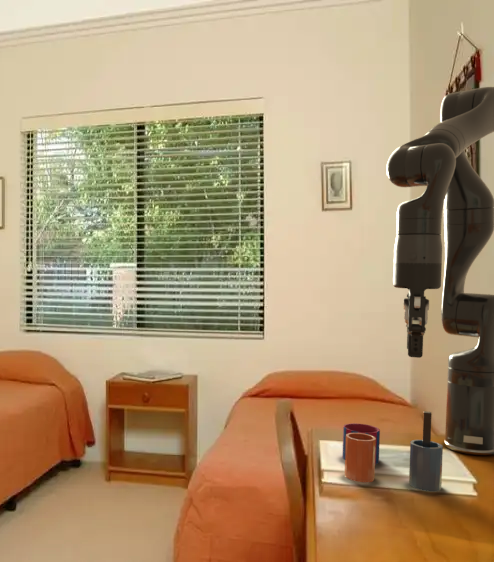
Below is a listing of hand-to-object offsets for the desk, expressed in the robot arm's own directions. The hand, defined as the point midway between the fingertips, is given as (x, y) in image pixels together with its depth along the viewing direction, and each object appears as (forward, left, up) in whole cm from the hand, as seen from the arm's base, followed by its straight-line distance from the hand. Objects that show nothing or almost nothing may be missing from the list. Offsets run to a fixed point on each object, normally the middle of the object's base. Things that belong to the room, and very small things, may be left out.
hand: (414, 353), depth 104 cm
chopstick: (-2, +2, -23) cm, 23 cm away
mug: (0, -12, -24) cm, 27 cm away
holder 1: (+6, -5, -24) cm, 25 cm away
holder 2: (-2, +2, -24) cm, 24 cm away
